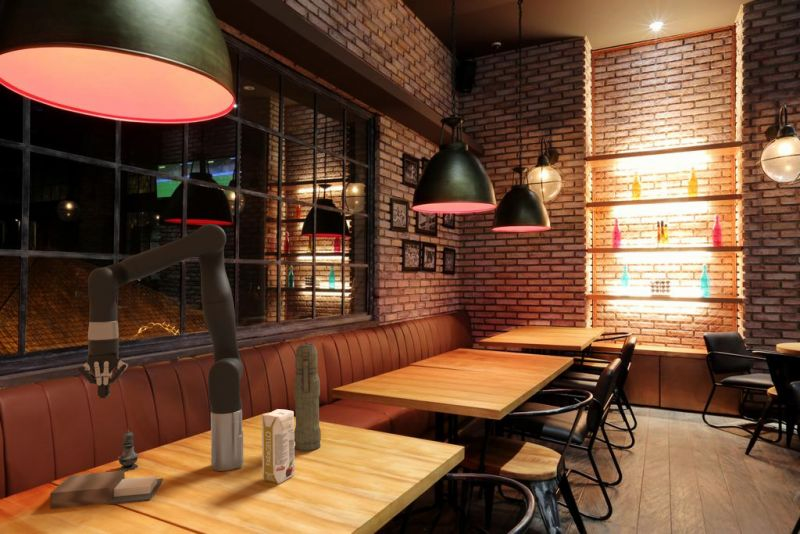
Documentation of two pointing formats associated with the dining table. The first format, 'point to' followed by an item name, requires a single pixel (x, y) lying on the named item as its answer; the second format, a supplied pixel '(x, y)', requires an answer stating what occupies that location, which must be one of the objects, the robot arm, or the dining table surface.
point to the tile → (135, 486)
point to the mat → (136, 496)
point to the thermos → (307, 399)
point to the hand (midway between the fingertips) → (103, 397)
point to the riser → (86, 489)
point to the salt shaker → (128, 453)
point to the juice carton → (278, 445)
